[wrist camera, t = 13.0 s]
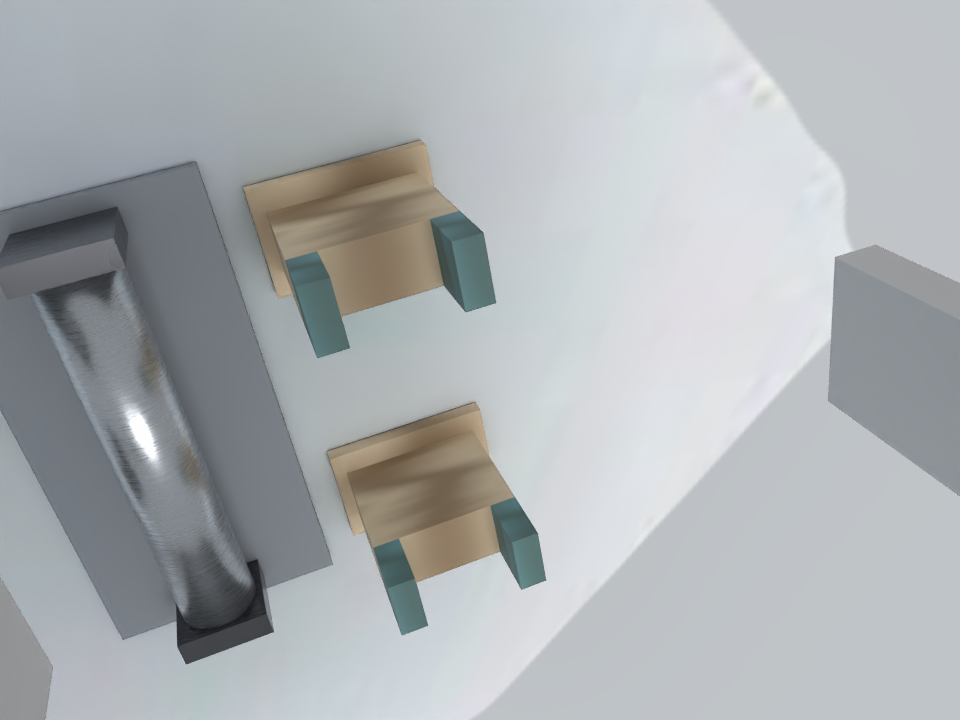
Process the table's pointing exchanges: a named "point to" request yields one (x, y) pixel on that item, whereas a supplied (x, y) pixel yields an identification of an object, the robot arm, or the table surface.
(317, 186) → the post near
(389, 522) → the post far
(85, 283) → the rail
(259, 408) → the pad
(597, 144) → the table surface
